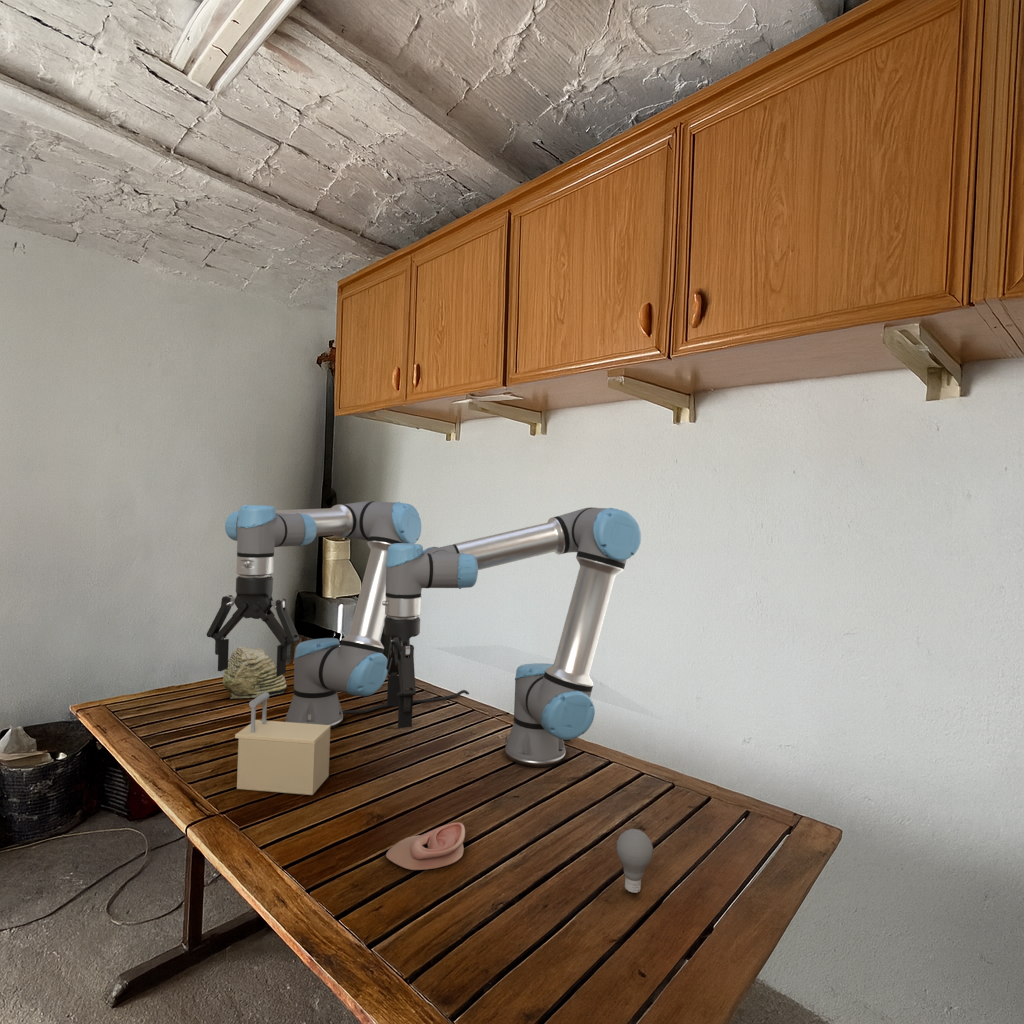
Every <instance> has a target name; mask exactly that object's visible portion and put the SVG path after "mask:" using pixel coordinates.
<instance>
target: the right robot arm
mask: <svg viewBox="0 0 1024 1024" xmlns="http://www.w3.org/2000/svg"><path fill="white" fill-rule="evenodd" d="M641 541H642V532H641V528H640V525H639V524H638V522H637V520H636V518H635V517H634V516H633V515H632V514H631V513H629V512H628V511H626V510H623V509H618V508H614V507H584V508H581V509H577V510H573V511H571V512H567V513H563V514H560V515H557V516H556V515H555V516H553V517H549V518H548V520H547V522H545V523H539V524H536V525H531V526H526V527H522V528H518V529H512V530H509V531H505V532H500V533H497V534H496V533H495V534H492V535H488V536H483V537H478V538H474V539H469V540H465V541H461V542H456V543H453V544H447V545H444V546H439V547H438V546H430V547H427V548H424V547H423V545H422V544H419V543H414V544H412V543H411V544H410V543H395V544H391V545H390V546H389V547H388V553H387V563H386V595H385V596H386V601H383V602H382V605H384V606H385V614H386V617H385V619H384V627H383V634H384V635H385V636H386V637H389V647H388V654H387V667H386V669H387V670H388V672H387V691H386V704H387V706H389V707H397V706H398V713H397V728H398V729H404V728H405V729H406V728H412V727H413V706H414V703H413V700H414V696H416V695H417V691H416V674H415V655H414V653H415V646H414V644H411V638H414V637H418V636H419V635H420V633H421V632H420V631H421V618H420V617H419V616H420V615H422V589H459V590H461V589H467V588H473V587H474V586H475V585H476V583H477V580H478V575H479V571H480V570H485V569H489V568H494V567H498V566H501V565H505V564H509V563H513V562H518V561H522V560H526V559H530V558H534V557H539V556H543V555H547V554H551V553H555V554H556V555H558V556H559V555H564V554H568V553H576V556H575V559H576V561H577V562H578V564H579V569H578V573H577V576H576V580H575V584H574V588H573V592H572V594H571V599H570V603H569V606H568V610H567V614H566V617H565V621H564V625H563V628H562V632H561V635H560V640H559V643H558V647H557V650H556V655H555V658H554V662H553V663H546V662H545V663H542V662H541V663H538V662H535V663H525V664H524V663H523V664H521V665H518V667H517V668H516V670H515V677H514V681H515V682H514V709H513V725H512V727H511V729H510V732H509V735H506V736H505V738H504V744H505V749H504V750H505V752H504V754H505V758H507V759H508V760H509V761H511V762H513V763H515V764H517V765H519V766H520V765H521V766H524V767H531V768H549V767H553V766H557V765H559V764H561V763H563V762H564V761H565V759H566V751H567V750H566V745H565V742H571V741H572V740H574V739H577V738H579V737H580V736H582V735H584V734H585V733H586V732H587V731H589V729H590V728H591V726H592V725H593V723H594V719H595V714H596V709H595V705H594V703H593V700H592V698H591V696H592V692H593V687H594V682H593V680H592V678H591V676H590V673H591V669H592V665H593V662H594V658H595V655H596V651H597V647H598V642H599V639H600V637H601V632H602V628H603V624H604V621H605V618H606V613H607V609H608V607H609V603H610V597H611V594H612V590H613V587H614V582H615V580H616V577H617V575H620V574H621V573H622V572H625V566H626V564H627V560H628V559H630V558H631V557H633V556H634V555H636V553H637V552H638V551H639V548H640V546H641Z"/></svg>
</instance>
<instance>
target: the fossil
mask: <svg viewBox="0 0 1024 1024" xmlns="http://www.w3.org/2000/svg"><path fill="white" fill-rule="evenodd" d="M276 673H277V664H276V663H275V662H274V660H273V659H272V658H271V657H270V656H269V655H268V654H267V653H266V652H265V650H264V649H263V648H260V647H258V648H251V647H247V646H246V647H245V646H238V647H237V648H236V649H235V650H233V651H232V653H231V656H230V657H229V658H228V668H227V669H225V670H224V671H223V675H222V676H223V677H222V685H223V687H224V688H225V690H226V691H228V693H229V698H230V699H250V698H257V697H258V696H260V695H261V694H263V693H265V692H267V693H269V697H271V696H275V695H281V694H284V693H285V691H286V689H287V687H288V686H287V680H286V678H285V676H284V674H283V675H281V676H276Z"/></svg>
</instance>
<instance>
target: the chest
mask: <svg viewBox="0 0 1024 1024" xmlns="http://www.w3.org/2000/svg"><path fill="white" fill-rule="evenodd" d="M330 747H331V729H329V730H328V731H327V732H326V733H325V734H324V735H323V736H322V737H321V738H320V739H319V740H318V741H317V742H316V743H315V744H306V743H293V742H279V741H266V740H253V739H239V738H238V747H237V770H236V771H237V772H236V773H237V775H236V790H246V791H257V792H271V793H283V794H293V795H295V794H296V795H308V796H313V795H314V794H315V793H316V792H317V790H319V788H320V787H321V786H322V785H323V783H324V782H325V781H326V780H327V779H328V778H329V776H330V775H329V774H330V749H331V748H330Z"/></svg>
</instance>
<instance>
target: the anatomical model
mask: <svg viewBox="0 0 1024 1024" xmlns="http://www.w3.org/2000/svg"><path fill="white" fill-rule="evenodd" d="M465 837H466V828H465V825H464V824H463V823H462V822H458V821H457V822H452V823H448V824H444V825H442V826H441V825H440V826H438V827H436V828H434V829H432V830H429V831H427V832H425V833H423V834H420V835H411V836H407V837H406V838H403V839H401V840H400V841H398V842H397V843H396V844H394V845H392V847H390V848H389V849H388V851H387V852H386V854H385V857H386V859H387V860H389V861H391V862H392V863H393V864H395V865H397V866H399V867H401V868H404V869H406V870H410V871H422V870H423V871H424V870H432V869H433V870H434V869H438V868H442V867H443V868H444V867H447V866H449V865H452V864H454V863H456V862H458V861H459V860H460V859H461V858H462V857H463V855H464V852H465V850H464V841H465Z"/></svg>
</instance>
